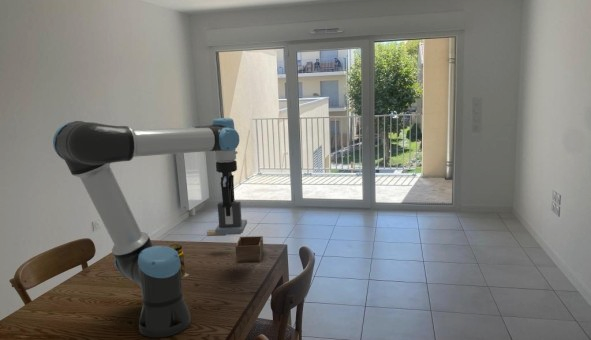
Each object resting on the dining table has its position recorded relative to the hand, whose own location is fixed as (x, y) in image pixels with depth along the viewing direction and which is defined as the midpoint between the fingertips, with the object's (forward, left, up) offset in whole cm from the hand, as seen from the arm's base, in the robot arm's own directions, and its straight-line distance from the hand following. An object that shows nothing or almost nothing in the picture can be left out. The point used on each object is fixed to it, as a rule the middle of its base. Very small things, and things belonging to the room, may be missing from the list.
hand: (230, 222), depth 164 cm
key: (+23, +11, -13) cm, 28 cm away
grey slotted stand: (+2, 0, -4) cm, 4 cm away
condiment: (+1, +23, -22) cm, 32 cm away
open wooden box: (+19, -4, -21) cm, 29 cm away
